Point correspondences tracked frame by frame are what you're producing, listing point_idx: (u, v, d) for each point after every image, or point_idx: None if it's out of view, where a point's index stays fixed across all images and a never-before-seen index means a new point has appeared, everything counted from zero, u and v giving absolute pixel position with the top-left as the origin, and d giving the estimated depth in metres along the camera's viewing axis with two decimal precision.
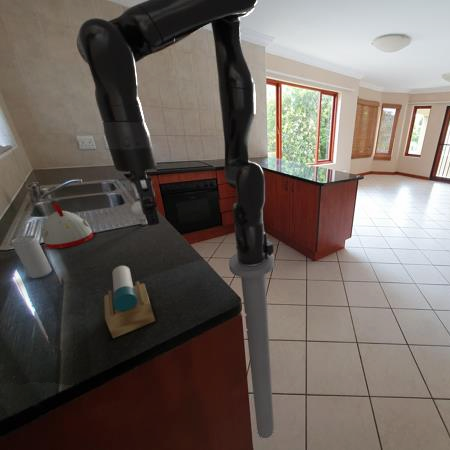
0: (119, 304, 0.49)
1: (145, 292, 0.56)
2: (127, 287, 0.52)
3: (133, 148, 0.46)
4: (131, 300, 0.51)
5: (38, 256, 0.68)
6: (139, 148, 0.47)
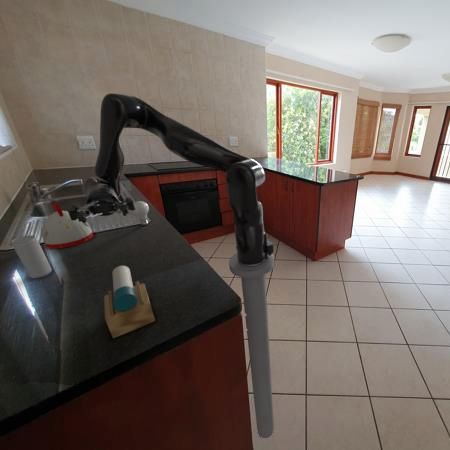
0: (119, 304, 0.49)
1: (145, 292, 0.56)
2: (127, 287, 0.52)
3: None
4: (131, 300, 0.51)
5: (38, 256, 0.68)
6: None
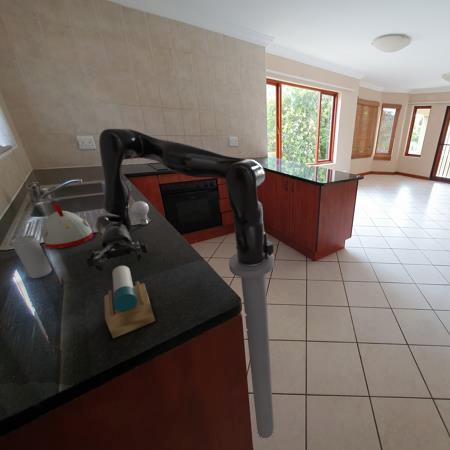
0: (119, 304, 0.49)
1: (145, 292, 0.56)
2: (127, 287, 0.52)
3: None
4: (131, 300, 0.51)
5: (38, 256, 0.68)
6: None
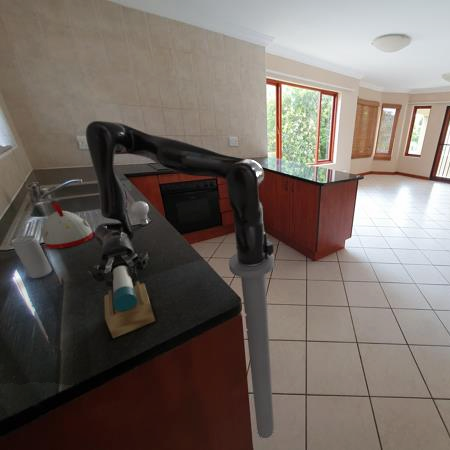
0: (119, 304, 0.49)
1: (145, 292, 0.56)
2: (127, 287, 0.52)
3: (101, 255, 0.67)
4: (131, 300, 0.51)
5: (38, 256, 0.68)
6: (101, 252, 0.67)
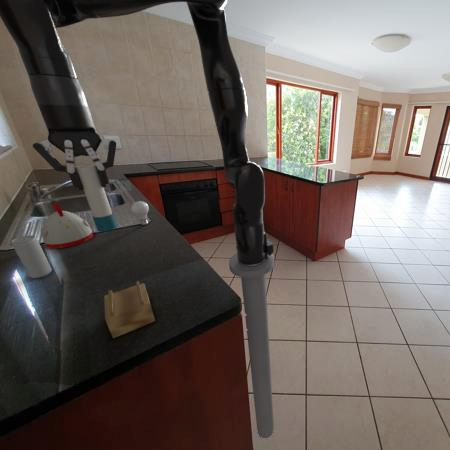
0: None
1: (145, 292, 0.56)
2: (108, 218, 0.56)
3: (38, 104, 0.45)
4: None
5: (38, 256, 0.68)
6: (38, 104, 0.45)
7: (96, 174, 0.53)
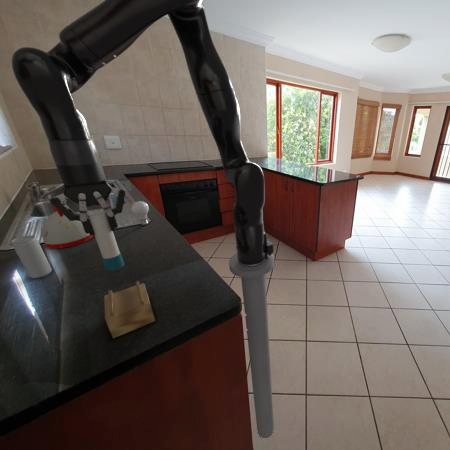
0: None
1: (145, 292, 0.56)
2: (116, 258, 0.61)
3: (55, 163, 0.50)
4: None
5: (38, 256, 0.68)
6: (56, 164, 0.49)
7: (106, 220, 0.58)
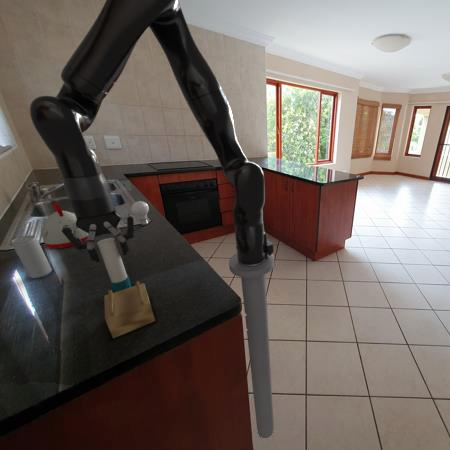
0: None
1: (145, 292, 0.56)
2: (124, 282, 0.64)
3: None
4: None
5: (38, 256, 0.68)
6: (69, 199, 0.52)
7: (115, 247, 0.60)
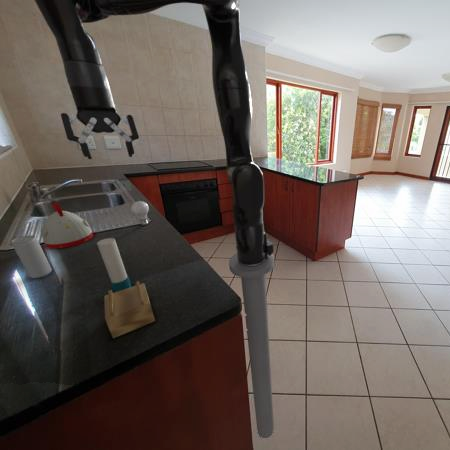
0: None
1: (145, 292, 0.56)
2: (124, 282, 0.64)
3: (69, 86, 0.54)
4: None
5: (38, 256, 0.68)
6: (70, 86, 0.53)
7: (115, 247, 0.60)
